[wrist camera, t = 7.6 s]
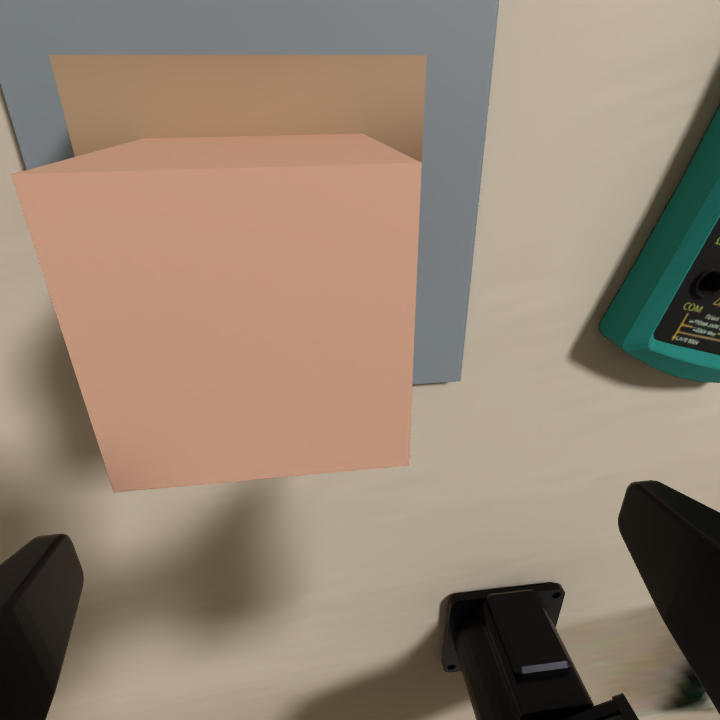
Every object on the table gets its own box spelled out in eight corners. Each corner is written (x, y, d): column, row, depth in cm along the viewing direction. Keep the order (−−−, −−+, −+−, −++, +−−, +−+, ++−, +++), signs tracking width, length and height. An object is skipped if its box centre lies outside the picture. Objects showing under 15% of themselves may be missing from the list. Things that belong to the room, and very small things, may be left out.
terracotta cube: (364, 327, 14) (409, 465, 9) (182, 339, 14) (113, 492, 8) (362, 133, 12) (421, 162, 6) (142, 138, 11) (11, 174, 6)
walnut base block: (388, 316, 18) (411, 368, 15) (165, 328, 18) (133, 386, 14) (394, 65, 15) (426, 55, 11) (110, 65, 14) (48, 54, 10)
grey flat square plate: (456, 373, 21) (460, 381, 20) (103, 397, 19) (97, 406, 19) (497, -57, 14) (505, -63, 14) (-35, -70, 13) (-49, -78, 12)
